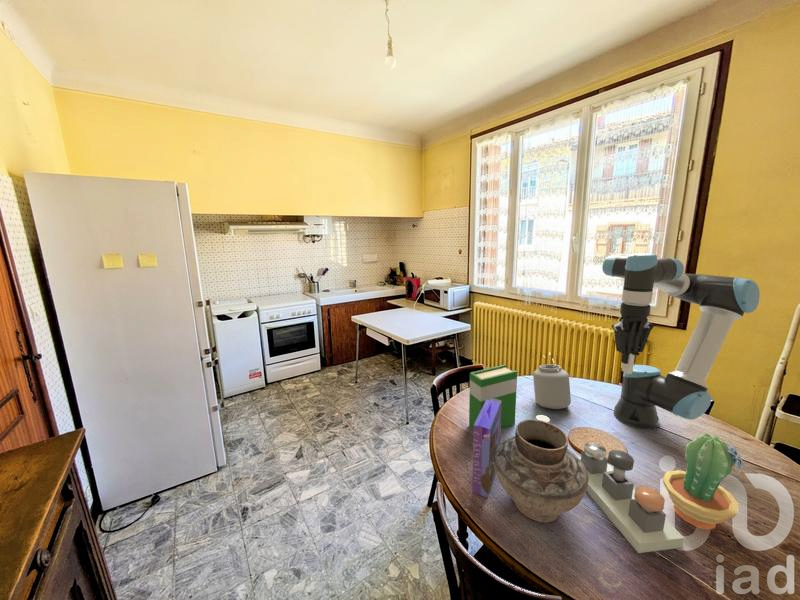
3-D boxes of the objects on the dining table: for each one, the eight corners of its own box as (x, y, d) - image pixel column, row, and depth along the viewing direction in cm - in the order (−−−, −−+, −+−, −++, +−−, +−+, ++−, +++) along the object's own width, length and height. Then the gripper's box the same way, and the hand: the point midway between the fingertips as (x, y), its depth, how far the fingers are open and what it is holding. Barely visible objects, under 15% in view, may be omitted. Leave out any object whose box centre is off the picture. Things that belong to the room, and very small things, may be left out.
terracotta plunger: (646, 506, 86) (650, 484, 84) (667, 526, 80) (671, 503, 78) (626, 508, 85) (629, 487, 84) (645, 529, 80) (648, 506, 78)
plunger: (595, 459, 106) (597, 441, 104) (608, 472, 100) (610, 453, 98) (578, 461, 105) (580, 443, 104) (590, 474, 99) (592, 455, 98)
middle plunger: (620, 469, 95) (622, 449, 93) (636, 484, 89) (639, 463, 88) (601, 471, 94) (603, 450, 93) (616, 486, 89) (619, 465, 87)
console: (598, 462, 108) (600, 442, 107) (682, 547, 79) (687, 521, 78) (565, 466, 108) (567, 445, 106) (638, 553, 78) (642, 526, 77)
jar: (522, 396, 153) (525, 347, 148) (548, 391, 156) (552, 344, 151) (549, 417, 135) (553, 363, 130) (577, 411, 139) (583, 359, 133)
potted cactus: (715, 551, 78) (734, 464, 73) (646, 503, 92) (658, 428, 87) (745, 526, 84) (765, 445, 79) (677, 485, 98) (690, 413, 93)
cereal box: (487, 498, 96) (489, 428, 91) (472, 492, 98) (473, 424, 93) (499, 461, 111) (501, 400, 106) (485, 457, 113) (487, 397, 108)
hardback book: (502, 415, 138) (504, 364, 133) (514, 424, 131) (517, 371, 126) (469, 425, 132) (469, 372, 127) (479, 435, 125) (481, 380, 120)
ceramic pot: (568, 477, 102) (574, 412, 97) (598, 552, 79) (608, 471, 74) (489, 468, 108) (491, 405, 103) (495, 535, 84) (498, 458, 79)
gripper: (644, 299, 103) (635, 366, 108) (607, 301, 102) (600, 368, 107) (665, 304, 96) (654, 375, 101) (625, 306, 95) (617, 378, 100)
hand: (626, 372), depth 104 cm, fingers closed
